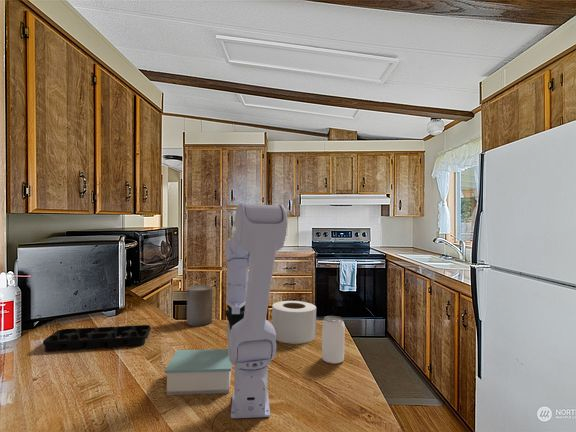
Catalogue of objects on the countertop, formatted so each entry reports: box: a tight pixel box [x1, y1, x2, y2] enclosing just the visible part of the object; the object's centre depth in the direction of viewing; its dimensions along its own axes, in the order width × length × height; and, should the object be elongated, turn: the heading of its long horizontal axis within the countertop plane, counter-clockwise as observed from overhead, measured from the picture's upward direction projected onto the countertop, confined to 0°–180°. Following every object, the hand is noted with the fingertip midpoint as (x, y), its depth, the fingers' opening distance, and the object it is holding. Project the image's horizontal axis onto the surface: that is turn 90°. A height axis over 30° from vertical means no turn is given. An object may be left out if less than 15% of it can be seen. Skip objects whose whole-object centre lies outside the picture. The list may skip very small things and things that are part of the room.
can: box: [321, 315, 346, 365], centre depth 98 cm, size 6×6×12 cm
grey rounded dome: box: [226, 322, 230, 342], centre depth 90 cm, size 5×5×4 cm
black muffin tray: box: [42, 324, 152, 353], centre depth 107 cm, size 18×30×4 cm, turn 116°
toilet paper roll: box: [271, 300, 317, 345], centre depth 117 cm, size 16×15×11 cm
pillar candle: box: [186, 284, 213, 327], centre depth 130 cm, size 10×10×15 cm
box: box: [166, 367, 233, 396], centre depth 83 cm, size 12×14×5 cm
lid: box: [164, 348, 233, 374], centre depth 82 cm, size 12×15×1 cm
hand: (236, 333), depth 90 cm, fingers closed on grey rounded dome, 5 cm apart
